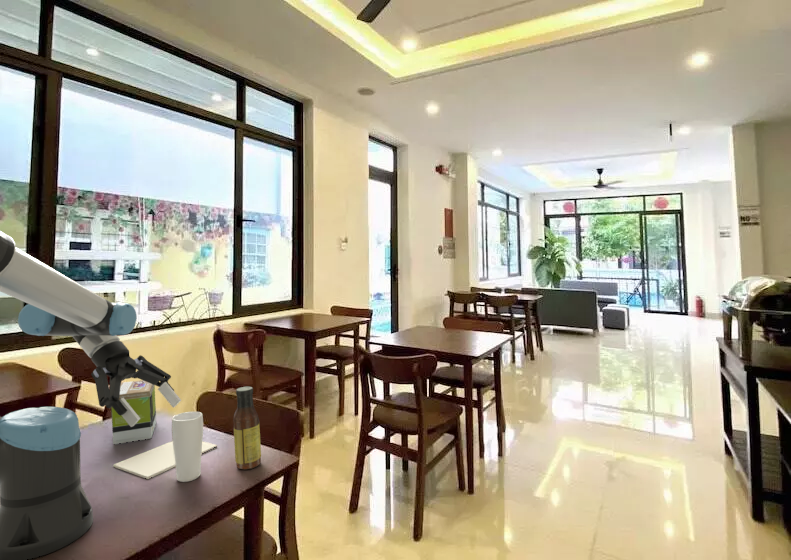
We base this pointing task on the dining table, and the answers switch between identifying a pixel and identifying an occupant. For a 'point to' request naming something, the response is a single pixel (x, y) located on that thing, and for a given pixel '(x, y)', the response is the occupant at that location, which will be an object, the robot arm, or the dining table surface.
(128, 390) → the tea box
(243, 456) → the sauce bottle
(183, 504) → the dining table surface
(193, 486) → the dining table surface
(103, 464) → the dining table surface
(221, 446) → the dining table surface
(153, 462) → the placemat
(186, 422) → the white cup
